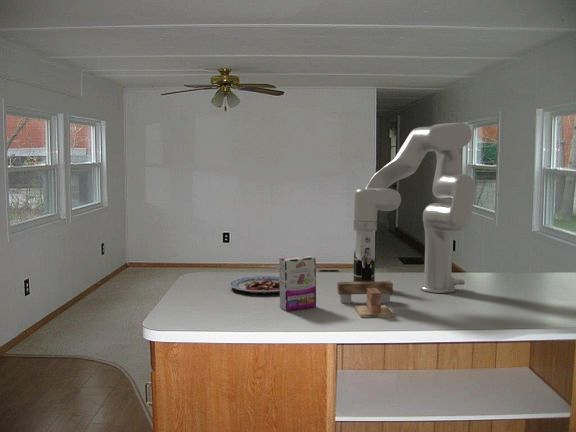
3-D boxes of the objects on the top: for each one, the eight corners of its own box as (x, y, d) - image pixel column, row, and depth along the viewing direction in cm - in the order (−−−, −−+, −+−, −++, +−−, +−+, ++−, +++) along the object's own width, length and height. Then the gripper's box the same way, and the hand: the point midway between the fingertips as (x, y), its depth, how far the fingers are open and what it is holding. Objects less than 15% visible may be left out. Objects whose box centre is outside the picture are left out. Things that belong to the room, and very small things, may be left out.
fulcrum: (385, 308, 185) (385, 286, 185) (393, 316, 175) (393, 294, 175) (354, 309, 185) (354, 287, 184) (360, 317, 175) (360, 294, 174)
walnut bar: (390, 291, 196) (390, 281, 196) (392, 293, 192) (392, 283, 192) (337, 292, 195) (337, 282, 195) (338, 294, 191) (339, 284, 191)
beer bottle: (373, 285, 220) (374, 222, 217) (374, 289, 212) (375, 224, 209) (353, 284, 220) (353, 222, 218) (353, 289, 213) (354, 224, 210)
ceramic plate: (313, 290, 211) (313, 282, 211) (252, 300, 197) (252, 292, 197) (274, 278, 233) (274, 271, 232) (217, 287, 218) (217, 279, 218)
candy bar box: (309, 304, 191) (309, 254, 190) (316, 307, 187) (316, 257, 185) (278, 308, 186) (278, 257, 185) (285, 311, 182) (285, 260, 180)
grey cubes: (388, 300, 196) (388, 291, 195) (389, 302, 193) (390, 293, 193) (339, 301, 195) (339, 292, 194) (340, 303, 192) (340, 294, 192)
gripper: (382, 229, 183) (380, 282, 184) (370, 223, 200) (369, 272, 202) (358, 228, 183) (356, 282, 184) (349, 223, 200) (347, 272, 201)
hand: (363, 277), depth 193 cm, fingers open, 9 cm apart
